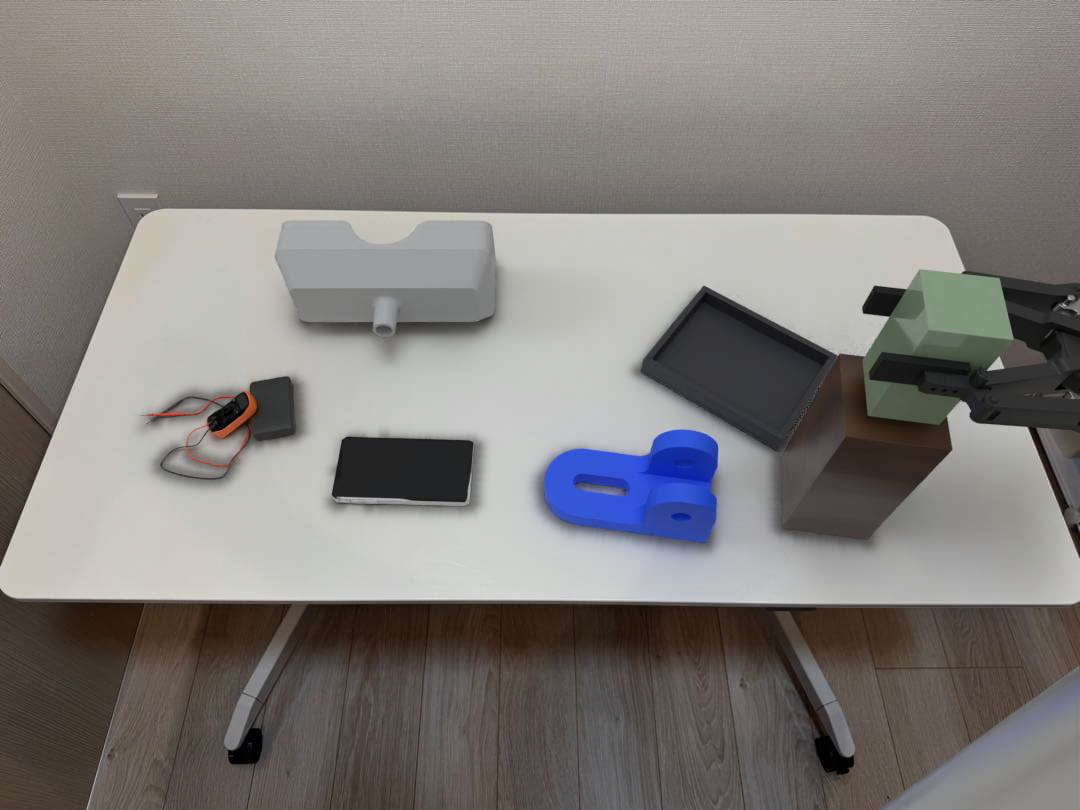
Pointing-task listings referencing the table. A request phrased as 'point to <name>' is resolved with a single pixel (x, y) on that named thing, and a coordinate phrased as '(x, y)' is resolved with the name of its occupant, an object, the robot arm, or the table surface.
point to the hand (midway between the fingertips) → (872, 332)
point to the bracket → (640, 487)
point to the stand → (853, 459)
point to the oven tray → (739, 366)
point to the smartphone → (404, 471)
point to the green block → (938, 339)
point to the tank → (389, 273)
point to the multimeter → (249, 414)
